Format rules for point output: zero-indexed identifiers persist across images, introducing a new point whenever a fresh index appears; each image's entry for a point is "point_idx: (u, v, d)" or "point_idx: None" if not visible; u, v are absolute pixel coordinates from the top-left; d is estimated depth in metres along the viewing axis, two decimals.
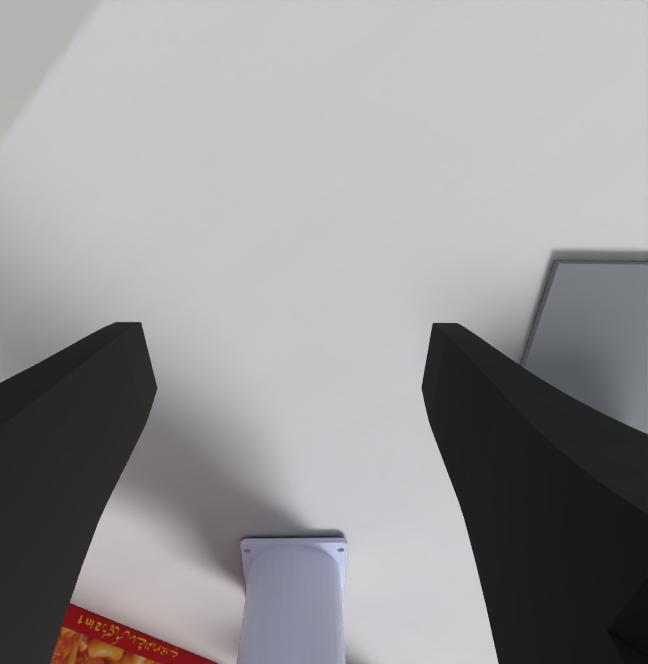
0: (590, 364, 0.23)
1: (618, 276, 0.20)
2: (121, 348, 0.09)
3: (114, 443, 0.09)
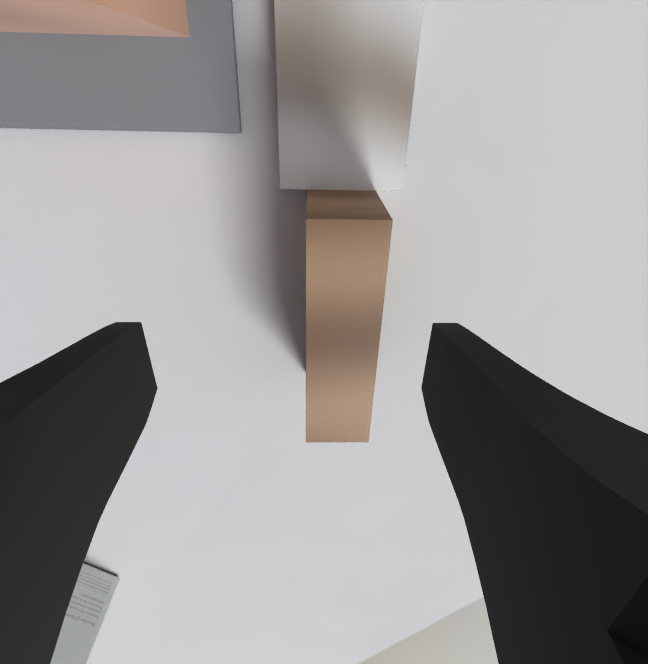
0: None
1: None
2: (120, 348, 0.09)
3: (115, 443, 0.09)
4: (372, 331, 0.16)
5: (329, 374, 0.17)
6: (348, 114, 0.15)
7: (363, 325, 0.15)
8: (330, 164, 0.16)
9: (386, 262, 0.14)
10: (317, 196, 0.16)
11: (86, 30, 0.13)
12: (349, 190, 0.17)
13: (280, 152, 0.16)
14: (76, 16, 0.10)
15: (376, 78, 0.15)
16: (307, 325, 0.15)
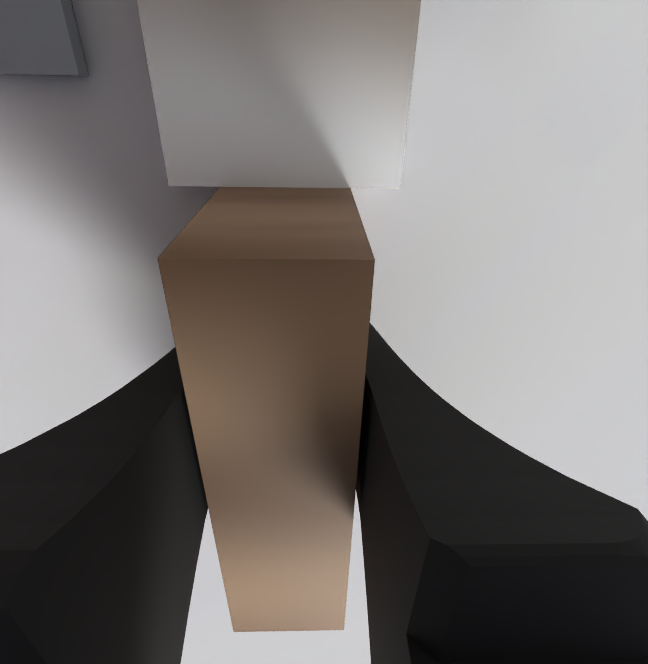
0: None
1: None
2: None
3: None
4: (340, 476, 0.08)
5: (261, 543, 0.09)
6: (288, 30, 0.08)
7: (320, 467, 0.07)
8: (260, 137, 0.08)
9: (363, 352, 0.06)
10: (230, 200, 0.08)
11: None
12: (300, 187, 0.09)
13: (159, 113, 0.08)
14: None
15: None
16: (204, 469, 0.07)
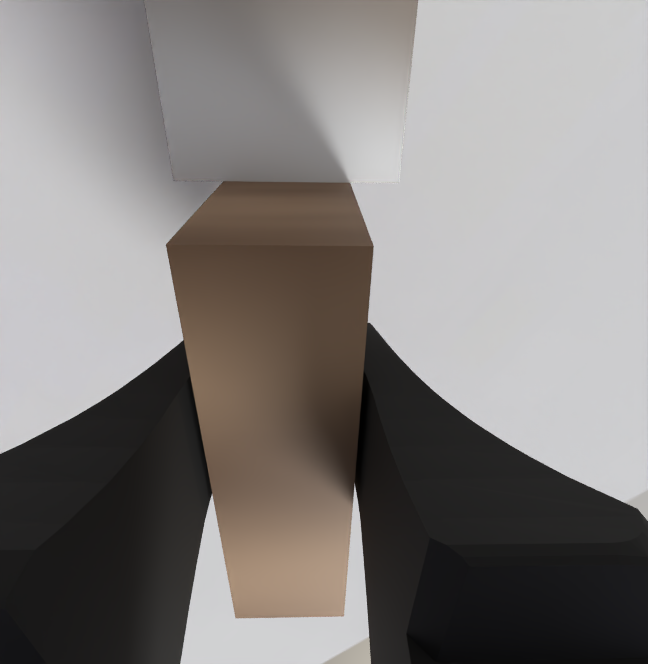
0: None
1: None
2: None
3: None
4: (340, 461, 0.08)
5: (263, 528, 0.09)
6: (290, 29, 0.08)
7: (321, 451, 0.08)
8: (263, 133, 0.09)
9: (363, 336, 0.06)
10: (233, 193, 0.08)
11: None
12: (301, 182, 0.09)
13: (164, 110, 0.08)
14: None
15: None
16: (208, 453, 0.08)
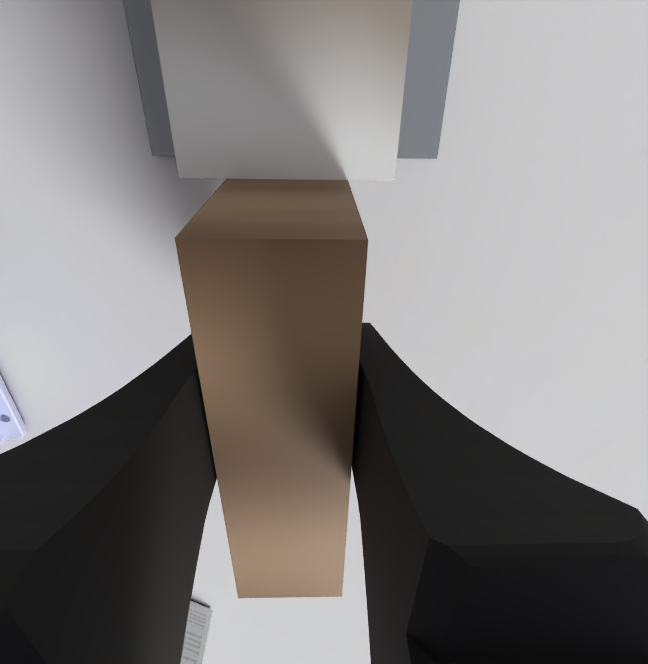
0: None
1: None
2: None
3: None
4: (338, 444, 0.08)
5: (265, 508, 0.09)
6: (290, 34, 0.08)
7: (319, 435, 0.08)
8: (264, 132, 0.09)
9: (358, 325, 0.07)
10: (236, 190, 0.09)
11: None
12: (301, 179, 0.10)
13: (170, 109, 0.09)
14: None
15: None
16: (213, 436, 0.08)
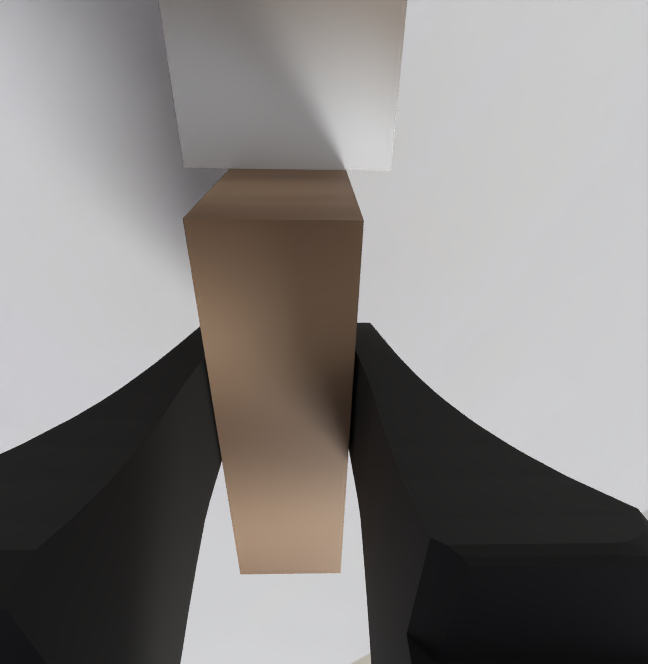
0: None
1: None
2: None
3: (215, 442, 0.09)
4: (336, 420, 0.09)
5: (266, 484, 0.10)
6: (291, 29, 0.09)
7: (319, 411, 0.09)
8: (266, 124, 0.10)
9: (355, 303, 0.07)
10: (239, 178, 0.09)
11: None
12: (301, 169, 0.10)
13: (176, 102, 0.09)
14: None
15: None
16: (217, 412, 0.08)
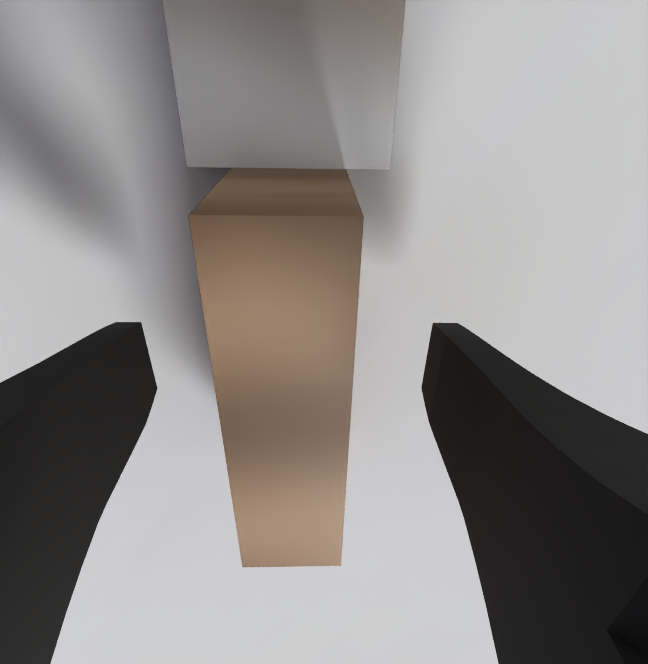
0: None
1: None
2: (120, 348, 0.09)
3: (115, 443, 0.09)
4: (336, 413, 0.09)
5: (268, 477, 0.10)
6: (292, 31, 0.09)
7: (319, 403, 0.09)
8: (267, 123, 0.10)
9: (355, 297, 0.07)
10: (241, 177, 0.09)
11: None
12: (302, 168, 0.10)
13: (179, 103, 0.09)
14: None
15: None
16: (220, 405, 0.09)
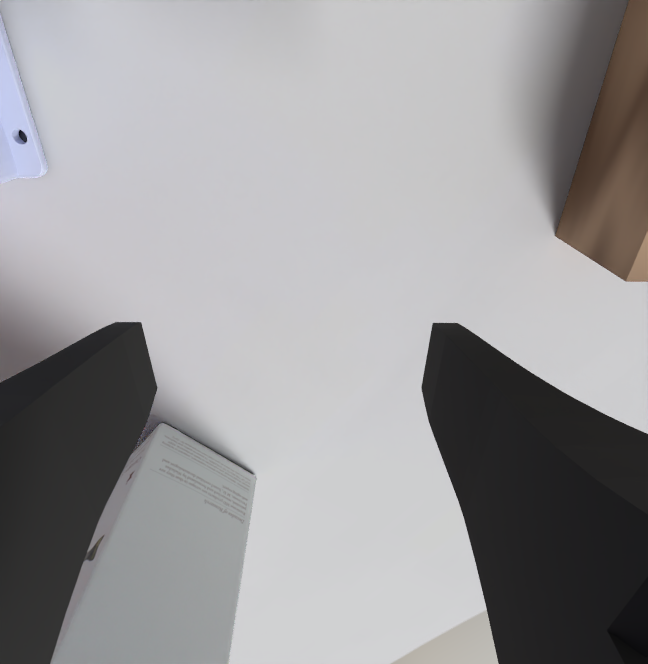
0: None
1: None
2: (120, 348, 0.09)
3: (115, 443, 0.09)
4: None
5: None
6: None
7: None
8: None
9: None
10: None
11: None
12: None
13: None
14: None
15: None
16: None
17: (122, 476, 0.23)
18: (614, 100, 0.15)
